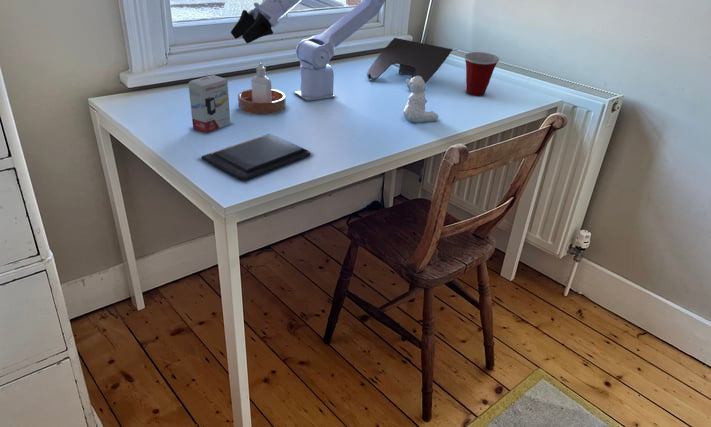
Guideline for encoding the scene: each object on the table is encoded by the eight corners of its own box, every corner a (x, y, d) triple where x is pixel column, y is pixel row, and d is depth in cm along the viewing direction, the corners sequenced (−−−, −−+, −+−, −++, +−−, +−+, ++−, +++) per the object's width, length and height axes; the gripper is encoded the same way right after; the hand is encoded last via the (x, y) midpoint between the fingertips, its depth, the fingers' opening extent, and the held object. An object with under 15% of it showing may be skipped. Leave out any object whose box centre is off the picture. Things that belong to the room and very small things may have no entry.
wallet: (241, 174, 102) (198, 150, 111) (242, 182, 103) (199, 158, 112) (314, 148, 115) (271, 129, 124) (314, 156, 116) (271, 136, 125)
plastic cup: (455, 95, 162) (461, 57, 156) (462, 86, 171) (468, 50, 165) (489, 101, 159) (496, 62, 153) (494, 92, 168) (501, 55, 162)
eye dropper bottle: (258, 110, 139) (256, 66, 133) (251, 104, 143) (248, 60, 137) (273, 108, 141) (272, 64, 135) (265, 102, 145) (264, 59, 139)
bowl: (273, 98, 150) (273, 86, 148) (293, 111, 141) (293, 99, 139) (231, 103, 143) (231, 91, 142) (249, 118, 134) (248, 105, 133)
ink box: (206, 133, 124) (201, 85, 118) (192, 128, 126) (186, 81, 120) (231, 124, 130) (228, 78, 124) (217, 119, 132) (213, 74, 126)
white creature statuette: (439, 120, 141) (445, 77, 135) (419, 127, 136) (425, 83, 130) (412, 111, 147) (417, 69, 141) (393, 117, 141) (397, 74, 135)
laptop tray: (364, 93, 177) (358, 72, 170) (397, 54, 187) (393, 32, 180) (422, 109, 166) (419, 87, 159) (454, 66, 176) (452, 43, 169)
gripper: (257, -11, 137) (219, 20, 135) (281, -6, 126) (240, 28, 124) (271, 12, 142) (234, 42, 139) (296, 19, 131) (257, 52, 129)
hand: (238, 37), depth 132 cm, fingers open, 7 cm apart
